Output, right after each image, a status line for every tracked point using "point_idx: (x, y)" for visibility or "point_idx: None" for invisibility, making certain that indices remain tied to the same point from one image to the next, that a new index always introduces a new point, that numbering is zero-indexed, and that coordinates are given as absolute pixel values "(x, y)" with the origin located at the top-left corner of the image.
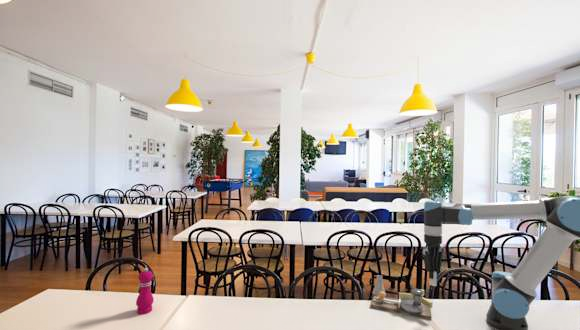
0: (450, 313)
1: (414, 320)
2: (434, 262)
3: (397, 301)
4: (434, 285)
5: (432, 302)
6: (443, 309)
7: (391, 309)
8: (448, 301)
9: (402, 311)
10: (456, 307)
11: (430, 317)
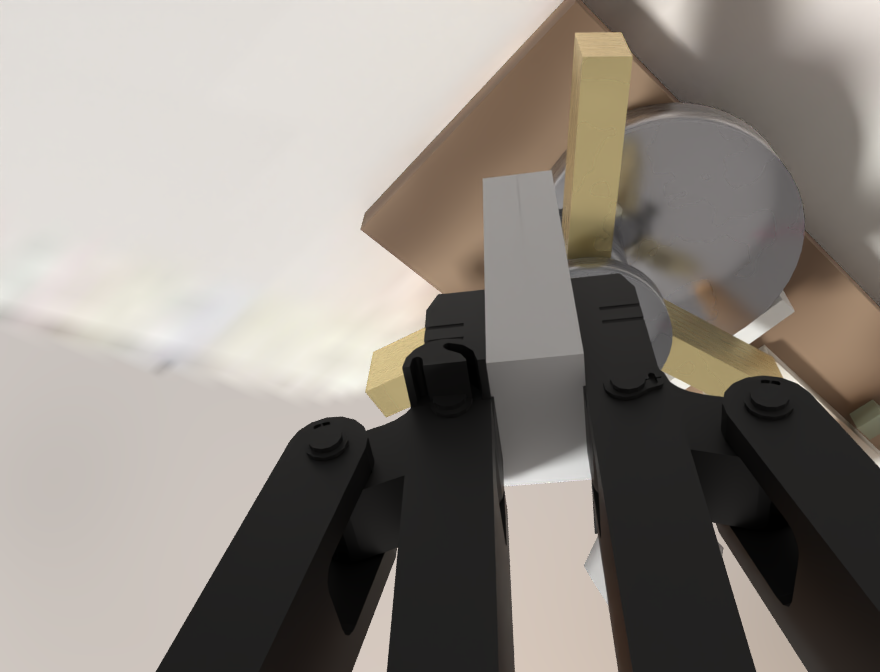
0: (204, 52)
1: (784, 46)
2: (504, 633)
3: None
4: (552, 180)
5: (583, 56)
6: (221, 153)
7: (859, 289)
8: (31, 276)
9: None
10: (25, 146)
11: (582, 7)
